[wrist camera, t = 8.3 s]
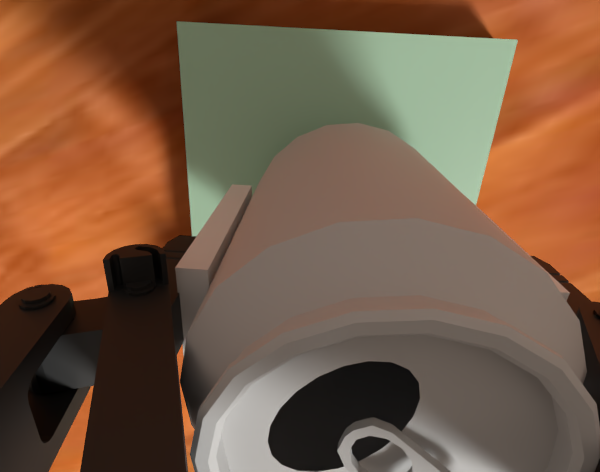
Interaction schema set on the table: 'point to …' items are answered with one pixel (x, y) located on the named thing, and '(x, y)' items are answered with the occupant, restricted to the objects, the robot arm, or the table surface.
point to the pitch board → (332, 98)
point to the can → (381, 328)
